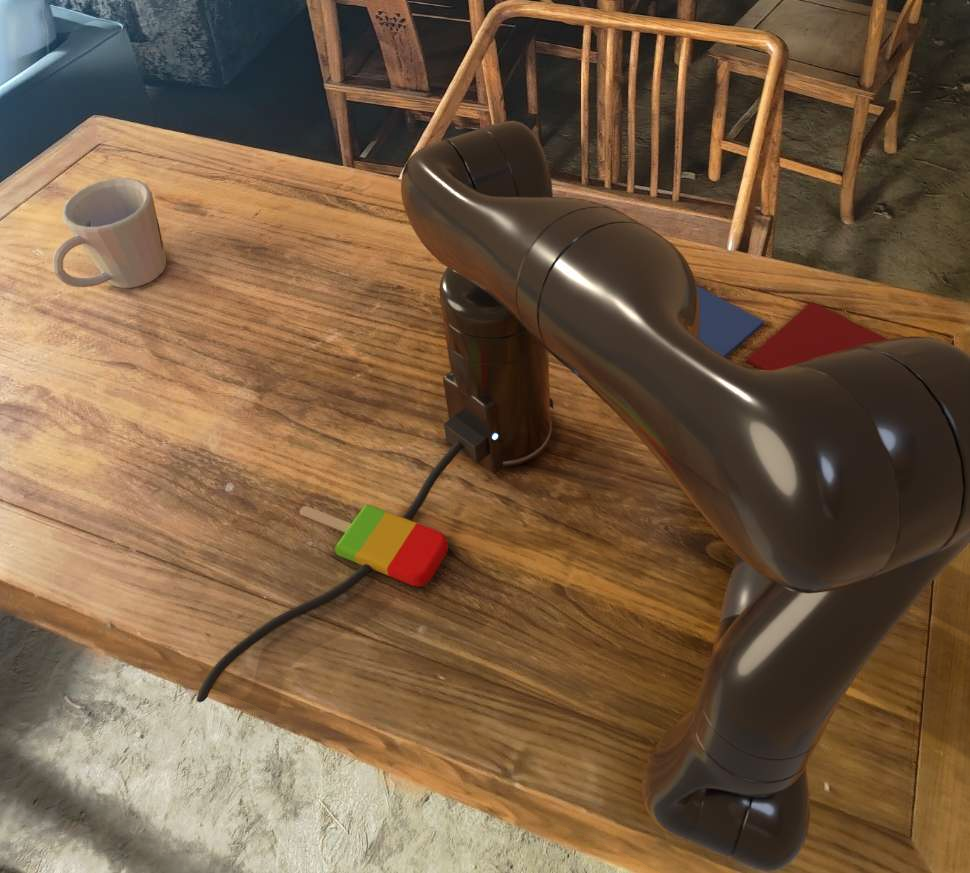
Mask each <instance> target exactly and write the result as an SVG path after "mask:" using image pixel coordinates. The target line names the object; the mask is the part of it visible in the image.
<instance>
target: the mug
mask: <svg viewBox="0 0 970 873" xmlns="http://www.w3.org/2000/svg"><path fill="white" fill-rule="evenodd" d="M61 217H62V220H63V221H64V223H65V225H66V227H67V228H68V229H69V231H70V233H71V234H72V235H73V236H72V237H69V238H67V239H66V240H64V241H63V242H62V243H60V244H59V246H58V247H57V248H56V249H55V251H54V253H53V255H52V256H53V257H52V271H53V273H54V274H55V276H56V277H57V278H58V280H60V281H61V282H62V283H63V284H65V285H67V286H70V287H75V288H91V287H95V286H99V285H102V284H105V283H107V282H108V283H109V284H111V285H113V286H114V287H117V288H121V289H133V288H137V287H141V286H144V285H147V284H150V283H151V282H153V281H154V280H156V279H158V278H159V277H160V275H161V274H163V273H164V270H165V269H166V266H167V256H166V251H165V246H164V242H163V237H162V232H161V228H160V224H159V219H158V215H157V211H156V206H155V201H154V197H153V193H152V191H151V189H150V188H149V186H148V184H147V183H144V182H143V181H141V180H139V179H135V178H131V177H113V178H107V179H102V180H99V181H96V182H94V183H91V184H88V185H86V186H85V187H83V188H81V189H79V190H78V191H76V192H75V193H74V194H73V195H72V196H70V197H69V198H68V199H67V201H66V202H65V203H64V205H63V207H62V212H61ZM78 246H81V248H83V250H84V251H85V253H86V254H87V255H88V257H89V258H90V259H91V261H92V262H93V264H94V265H95V266H96V268H97V269H98V271H99V272H100V274H99V273H98V274H97V275H94V276H90V277H76V276H72V275H71V274H69V273H67V271H66V270H65V269H64V259H65V257H66V255H67V254H68V253H69V252H70V251H71V250H73V249H74V248H75V247H78Z"/></svg>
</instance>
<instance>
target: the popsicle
mask: <svg viewBox="0 0 970 873" xmlns="http://www.w3.org/2000/svg"><path fill="white" fill-rule="evenodd" d="M299 514H300V515H301V516H302V517H305V518H308V519H310V520H312V521H315V522H317V523H320V524H322V525H325V526H327V527H330V528H332V529H335V530H338V531H340V532H342V533H344V534H343V535H342V537H341V538H340V539H339V541H338V542H337V544H336V545H335V546H334V551H335V554H336V555H337V556H339V557H341V558H344V559H346V560H348V561H351V562H354V563H356V564H358V565H361V566H363V565H364V564H367V565H369V566H371V568H372V570H373V571H375V572H377V573H380V574H383V575H385V576H387V577H390V578H392V579H395V580H397V581H400V582H403V583H405V584H407V585H409V586H412V587H423V586H426V585H427V584H428V583H429V582H430V581H431V580H432V578H433V577H434V576H435V574H436V572H437V571H438V569H439V567H440V566H441V564H442V562H443V561H444V559H445V557H446V556H447V554H448V550H449V543H448V540H447V537H446V536H445V535H444V533H442V532H441V531H438V530H436V529H434V528H432V527H429V526H426V525H423V524H422V523H421V524H420V523H418V522H415V521H412V520H411V521H410V520H408V519H405V518H402V517H403V516H399V515H397V514H395V513H392V512H389V511H387V510H383V509H381V508H379V507H376V506H373V505H370V504H368V503H367V504H365V505H364V506H362V508H361V510H360V511H359V512H358V514H357V515H356V516H355V518H354V520H353V521H352V522H351V523H350V522H348V521H346V520H343V519H341V518H338V517H336V516H333V515H330V514H329V513H328V514H327V513H326V512H323V511H321V510H318V509H315V508H312V507H310V506H307V505H304V506H303V505H302V507H301V508H300V509H299Z"/></svg>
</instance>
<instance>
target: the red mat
mask: <svg viewBox="0 0 970 873" xmlns="http://www.w3.org/2000/svg"><path fill="white" fill-rule="evenodd" d="M886 339H887V337H884V336H882V335H880V334H878V333H876V332H875V331H873V330H871V329H868V328H866V327H864V326H862V325H860V324H859V323H856V322H854V321H852V320H850V319H848V318H847V317H844V316H842V315H840V314H839V313H836V312H835V311H832V310H830V309H828V308H826V307H824V306H822V305H820V304H818V303H816V302H814V301H810V302H809V303H807V305H806V306H805V307H804V308H802V309H801V310H800V311H798V313H797V314H796V315H794V317H792V318H791V319H790V320H788V322H787V323H786V324H785V325H784V326H782V327H781V328H780V329H779V330H778V331H776V332H775V333H774V335H772V336H771V337H770V338H768V339H767V341H765V342H764V343H763V344H762V345H760V346H759V348H758V349H756V350H755V351H754V352H753V353H752V354H751V355H749V356H748V357H747V358H746V363H747V364H748V365H750V366H752V367H754V369H759V370H776V369H780V368H785V367H787V366H790V365H793V364H797V363H800V362H804V361H807V360H811V359H814V358H817V357H821V356H824V355H828V354H831V353H835V352H838V351H841V350H846V349H850V348H853V347H856V346H859V345H863V344H867V343H870V342H875V341H880V340H886Z"/></svg>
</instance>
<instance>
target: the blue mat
mask: <svg viewBox="0 0 970 873" xmlns="http://www.w3.org/2000/svg"><path fill="white" fill-rule="evenodd" d="M696 287H697V291H698V296H699V311H700V333H699V339H700V340H701V341H703V342H704V343H705V344H706V345H708V346H709V347H710V348H711V349H713V350H714V351H716V352H717V353H719V354H720V355H722V356H724V357H725V358H727V357H729V355H731V354H732V353H733V352H734V351H735V350H736V349H737V348H739V347H740V346H741V345H742V344H743V343H744V342H745V341H747V340H748V339H749V338H750V337H752V335H754V334H755V333H757V331H759V329H761V327H763V326H764V324H765V320H763V319H761V318H759V317H758V316H756V315H754V314H752V313H750V312H748V311H745V310H744V309H743V308H740V307H739V306H736V305H734V304H732V303H730V302H729V301H726V300H725V299H724V298H721V297H719V296H717V295H716V294H713V293H711V292H710V291H709V290H708V291H707V290H706V289H704V288H702V287H700V286H699V285H696Z"/></svg>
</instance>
